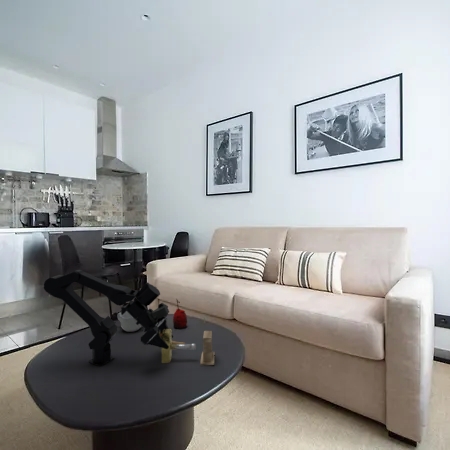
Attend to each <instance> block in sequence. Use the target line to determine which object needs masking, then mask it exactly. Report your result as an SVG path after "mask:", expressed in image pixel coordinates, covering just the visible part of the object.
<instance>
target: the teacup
mask: <svg viewBox="0 0 450 450" xmlns="http://www.w3.org/2000/svg"><path fill="white" fill-rule="evenodd" d="M116 318H117V320H118V321H119V322H120V326H121V328H122V329H123V331H125V332H127V333H129V332H130V333H133V332H137V331H138V330H140V329H141V328H143V327H142V326H141V325H140V324H138V325H137V324H136V322H137V321H136V320H135V319H134V318H133V317H132V316H131V315H130V314H129V313H128V312H127V311H126V312H125V313H124V314H123V315H121V311H120V312H118V313H117V317H116Z"/></svg>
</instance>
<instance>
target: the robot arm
mask: <svg viewBox="0 0 450 450" xmlns="http://www.w3.org/2000/svg"><path fill="white" fill-rule="evenodd" d="M74 283H77V284H80V285H81V286H83V287H85V288H88V289H90V290H93V291H95V292H97V293H99V294H101V295H104V296H105V297H106V298H107V299H108V300H109V302H111V303H113V304H114V305H116V306H122V307H120V308H121V309H120V310H121V311H120V312H121V315H123V314H124V313H125V312H126V311H127V312H128V313H129V314H130V315H131V316H132V317H133V318H134V319H135V320H136V321H137V322H136V324H137V325H138V324H140V325H141V326H142V327H141V328H143V329H144V330H143V332H144V333H142V335H141V337H140V342H141V343H142V345H151V346H153V347H154V346H155V347H158V348H161V349H162V348H164V349H168V348H169V346H168V344H167V343H166V342H165V341H164V339H163V338H162V337H161V335H160V333H161V334H162V332H163V330H164V329H170V328H169V325H168V323H167V322H168V321H167V320H168V318H167V316H168V315H169V313H170V309H169V306H168V304H166V303H164V302H160V303H159V304H158V306H157V308H155V309H152V308H149V309H148V308H147V306H150V305H151V304H152V303H154V301H155V300H156V299H157V298H158V297H159V296H160V295H161V292H160V290H159V289H158V288H157V287H156V286H154V285H153V284H151V283H149V281H148V282H145V284H144V285H143V286H142V287H141V288H140V289H139V290H137V289H132V288H130V287H129V286H125V285H122V284H114V283H110V282H108V281H106V280H103V279H101V278H99V277H96V276H94V275H92V274H90V273H88V272H86V271H84V270H82V269H76V270H74V271H72V272H71V273H68V274H58V275H54V276H52V277H49V278H47V279H45V281H44V283H43V289H44V292H45V293H47V294H48V295H50V296H51V297H54V298H56V299H59V300H61V301H63V302H64V303H65V304H66V305H67V306H68V307H69V308H70V309H71V310H72V311H73V312H74V313H75V314H76V315H77V316H78V317H79V318H80V319H81V320H82V321H83V322H84V323H86V324H87V326H88V327H89V329H90V332H91V334H92V337H93V339H92V340H91V341H90V342H89V343H88V348H89V350H92V352H91V353H92V355H91V356H92V359H90V360H88V363H90V364H92V365H95V366H97V367H102V366H103V365H104V364H105V365H106V364H107V363H109V362H111V361H113V360H115V357H113V356H112V349H111V343H110V342H111V341H112V340H113V338H114V337H115V336H116V335H117V333H118V326H117V325H116V324H117V322H116V321H114V320H113V319H112V318H111V317H110V316H109V315H107V316H106V317H102V316H101V315H99V314H98V313H97V312H96V311H95V310H94V309H93V308H92V307H91V306H90V304H88V303H87V302H86V301H85V300H84V299H83V298H82V297H81V296H80V295H79V294H78V293H77V292H76V291H75V290H74V287H73V284H74ZM135 298H136V299H135ZM134 299H135V300H134ZM125 304H126V305H125ZM172 339H174V335H173V334H172Z"/></svg>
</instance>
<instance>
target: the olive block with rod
mask: <svg viewBox="0 0 450 450" xmlns="http://www.w3.org/2000/svg"><path fill="white" fill-rule="evenodd" d="M172 335H173V333H172V329H171V328H169V329H164V330H163V332H162V338H163V339H164V341H165V342H166V343H167V344H168V346H169V348H168V349H164V348H161V363H162V364H168V363H169V364H170V363H171V360H172V359H173V358H172V357H173V355H172V354H173V352H172V351H173V350H191V351H196V349H197V344H196V343H195V342H194V343H193V342H192V343H185V344H172V341H173V338H172Z"/></svg>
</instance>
